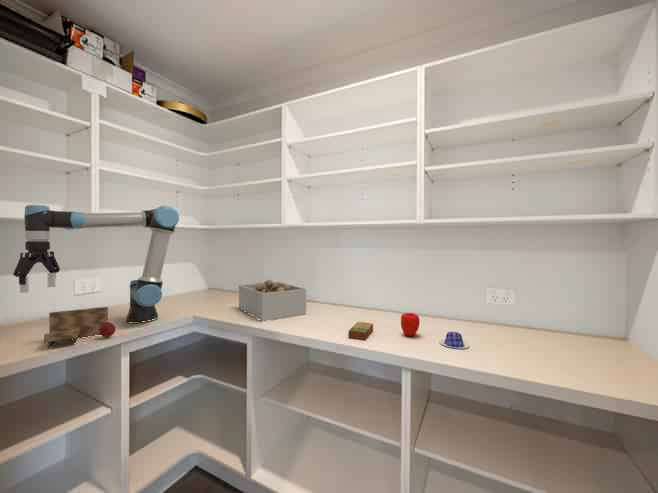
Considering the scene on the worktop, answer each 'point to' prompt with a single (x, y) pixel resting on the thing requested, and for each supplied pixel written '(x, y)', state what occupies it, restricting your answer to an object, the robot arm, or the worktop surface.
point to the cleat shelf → (61, 336)
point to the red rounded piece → (409, 323)
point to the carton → (360, 331)
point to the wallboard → (79, 321)
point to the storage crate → (272, 302)
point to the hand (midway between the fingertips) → (38, 289)
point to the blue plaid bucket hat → (454, 341)
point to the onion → (107, 329)
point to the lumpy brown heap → (269, 285)
